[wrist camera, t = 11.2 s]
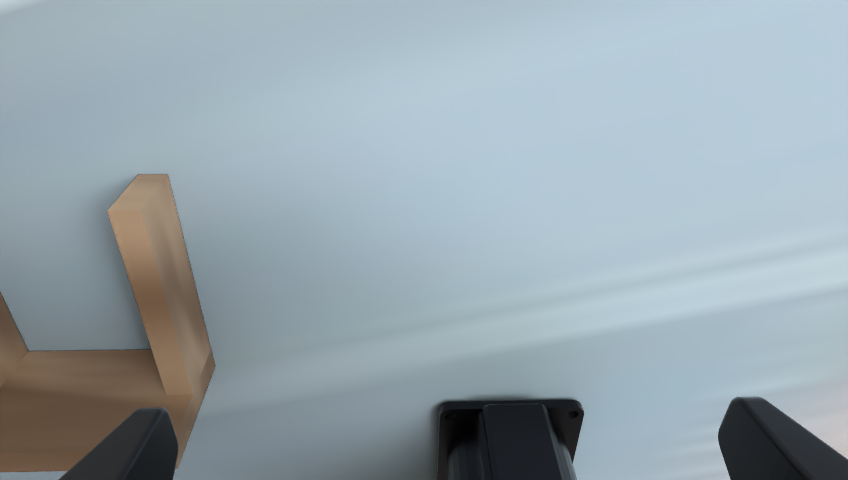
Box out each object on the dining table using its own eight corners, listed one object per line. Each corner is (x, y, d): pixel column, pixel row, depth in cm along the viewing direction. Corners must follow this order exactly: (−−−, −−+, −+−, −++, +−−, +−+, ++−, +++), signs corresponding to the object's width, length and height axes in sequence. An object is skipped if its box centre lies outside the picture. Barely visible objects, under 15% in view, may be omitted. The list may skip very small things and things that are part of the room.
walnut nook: (215, 366, 25) (177, 468, 21) (12, 369, 25) (-68, 473, 20) (167, 174, 20) (106, 256, 16) (-87, 175, 20) (-218, 260, 16)
